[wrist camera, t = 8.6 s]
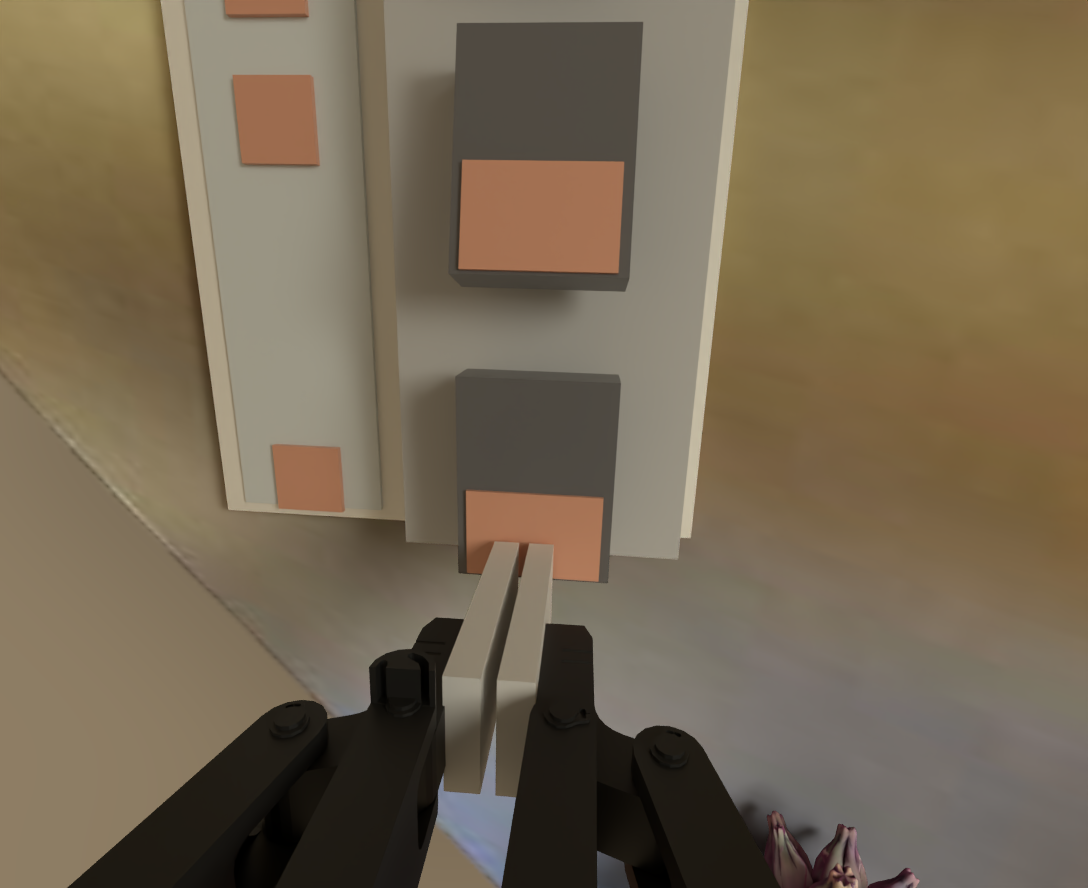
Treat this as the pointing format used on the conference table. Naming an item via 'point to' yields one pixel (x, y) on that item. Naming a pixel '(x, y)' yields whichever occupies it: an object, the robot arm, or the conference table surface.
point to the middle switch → (544, 154)
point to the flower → (822, 861)
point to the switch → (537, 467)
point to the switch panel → (430, 254)
